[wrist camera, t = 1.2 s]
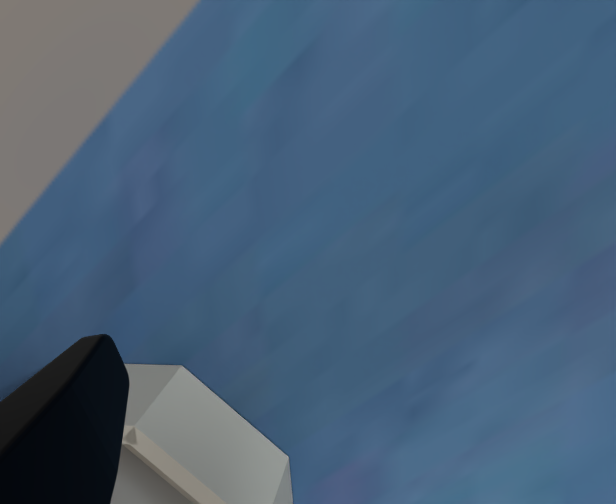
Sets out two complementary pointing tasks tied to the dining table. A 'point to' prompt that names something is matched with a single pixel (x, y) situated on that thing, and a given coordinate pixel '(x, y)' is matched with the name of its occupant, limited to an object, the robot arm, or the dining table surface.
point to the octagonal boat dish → (192, 446)
